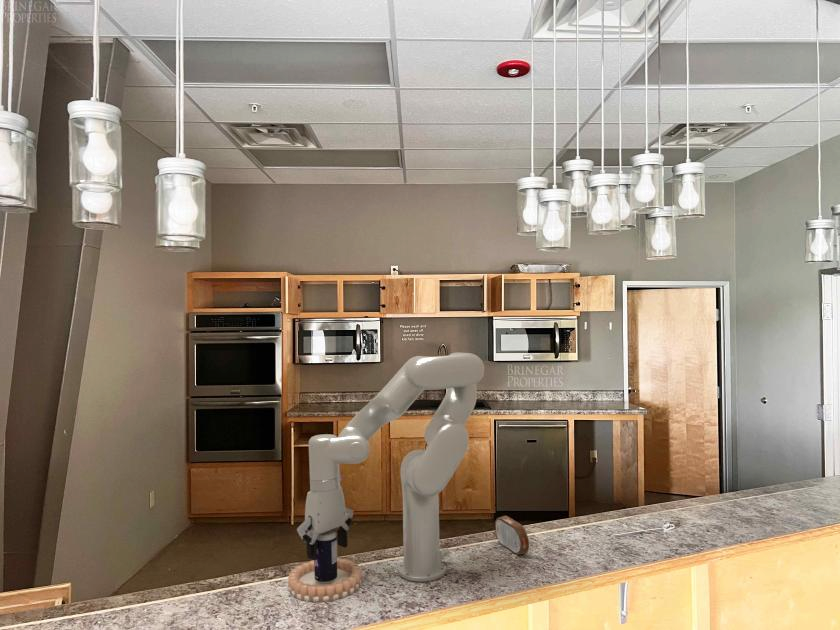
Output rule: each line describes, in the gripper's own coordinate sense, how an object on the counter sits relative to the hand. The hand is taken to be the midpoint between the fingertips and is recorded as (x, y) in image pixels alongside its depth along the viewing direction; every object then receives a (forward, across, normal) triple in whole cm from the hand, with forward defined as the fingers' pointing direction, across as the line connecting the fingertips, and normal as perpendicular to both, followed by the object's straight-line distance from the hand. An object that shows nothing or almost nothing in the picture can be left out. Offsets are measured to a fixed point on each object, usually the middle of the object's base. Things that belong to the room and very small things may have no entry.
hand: (327, 552), depth 137 cm
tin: (+10, -48, +24) cm, 54 cm away
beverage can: (+7, +1, 0) cm, 7 cm away
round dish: (+8, +1, 0) cm, 8 cm away
